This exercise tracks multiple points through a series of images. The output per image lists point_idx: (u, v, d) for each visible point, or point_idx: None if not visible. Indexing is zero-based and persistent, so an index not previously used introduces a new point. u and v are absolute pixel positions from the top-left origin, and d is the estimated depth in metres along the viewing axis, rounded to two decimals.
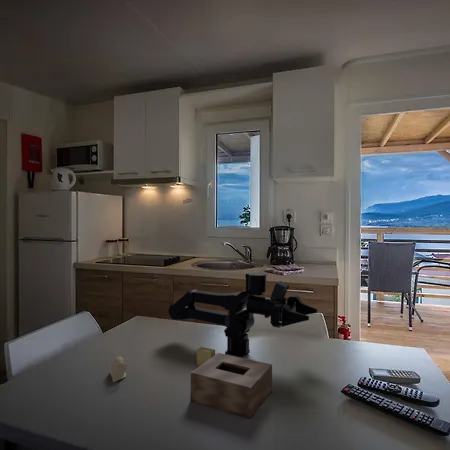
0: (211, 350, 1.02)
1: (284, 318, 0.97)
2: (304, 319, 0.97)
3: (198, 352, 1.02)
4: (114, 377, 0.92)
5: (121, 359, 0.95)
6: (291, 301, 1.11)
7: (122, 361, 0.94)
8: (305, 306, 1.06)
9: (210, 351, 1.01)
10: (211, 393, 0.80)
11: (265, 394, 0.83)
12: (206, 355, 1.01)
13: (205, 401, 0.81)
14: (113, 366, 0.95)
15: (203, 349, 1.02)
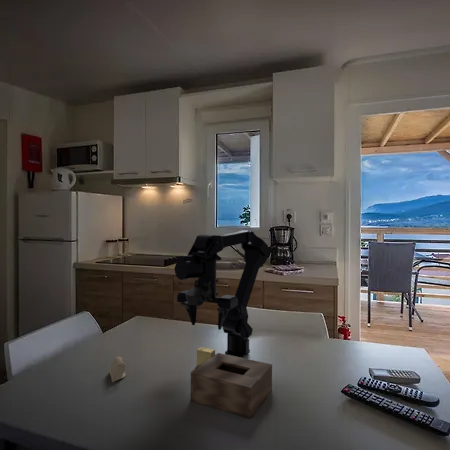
0: (211, 350, 1.02)
1: None
2: None
3: (198, 352, 1.02)
4: (113, 377, 0.92)
5: (120, 359, 0.95)
6: None
7: (121, 361, 0.94)
8: None
9: (210, 351, 1.01)
10: (211, 393, 0.80)
11: (265, 394, 0.83)
12: (206, 355, 1.01)
13: (205, 401, 0.81)
14: (112, 366, 0.95)
15: (203, 349, 1.02)
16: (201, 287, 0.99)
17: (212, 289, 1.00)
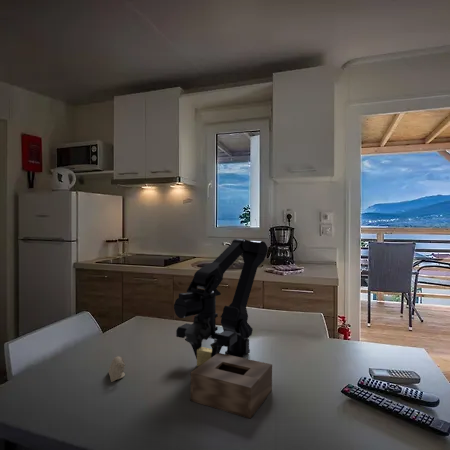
0: (211, 350, 1.02)
1: None
2: None
3: (198, 352, 1.02)
4: (112, 377, 0.92)
5: (119, 359, 0.95)
6: None
7: (120, 361, 0.94)
8: None
9: (210, 351, 1.01)
10: (211, 393, 0.80)
11: (265, 394, 0.83)
12: (206, 355, 1.01)
13: (205, 401, 0.81)
14: (111, 366, 0.95)
15: (203, 349, 1.02)
16: (200, 324, 0.99)
17: (211, 325, 1.00)
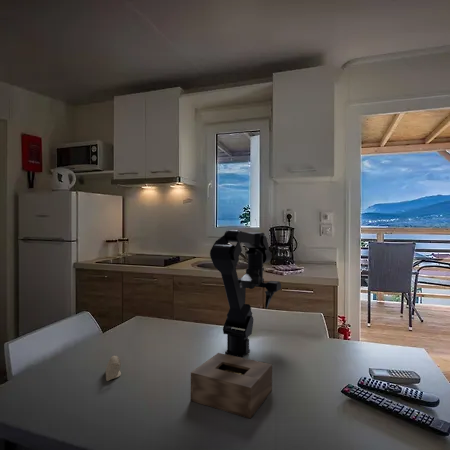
0: None
1: None
2: None
3: None
4: (107, 376, 0.93)
5: (115, 358, 0.95)
6: None
7: (116, 360, 0.95)
8: None
9: None
10: (211, 393, 0.80)
11: (265, 394, 0.83)
12: None
13: (205, 401, 0.81)
14: (108, 365, 0.95)
15: None
16: (252, 274, 1.22)
17: (260, 276, 1.24)
